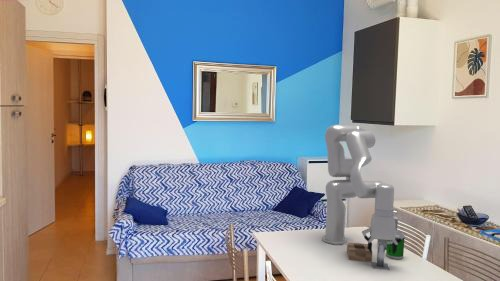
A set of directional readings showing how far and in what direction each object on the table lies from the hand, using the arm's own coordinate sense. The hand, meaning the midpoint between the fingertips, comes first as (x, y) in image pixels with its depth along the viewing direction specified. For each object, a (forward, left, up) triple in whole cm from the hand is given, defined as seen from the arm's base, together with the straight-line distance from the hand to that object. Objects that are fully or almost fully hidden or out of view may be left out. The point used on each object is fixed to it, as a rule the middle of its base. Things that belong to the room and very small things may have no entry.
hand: (381, 252), depth 169 cm
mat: (0, 0, -7) cm, 7 cm away
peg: (0, 0, -6) cm, 6 cm away
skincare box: (-27, +7, -7) cm, 29 cm away
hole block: (-9, -8, -7) cm, 14 cm away
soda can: (-14, +8, -7) cm, 17 cm away
